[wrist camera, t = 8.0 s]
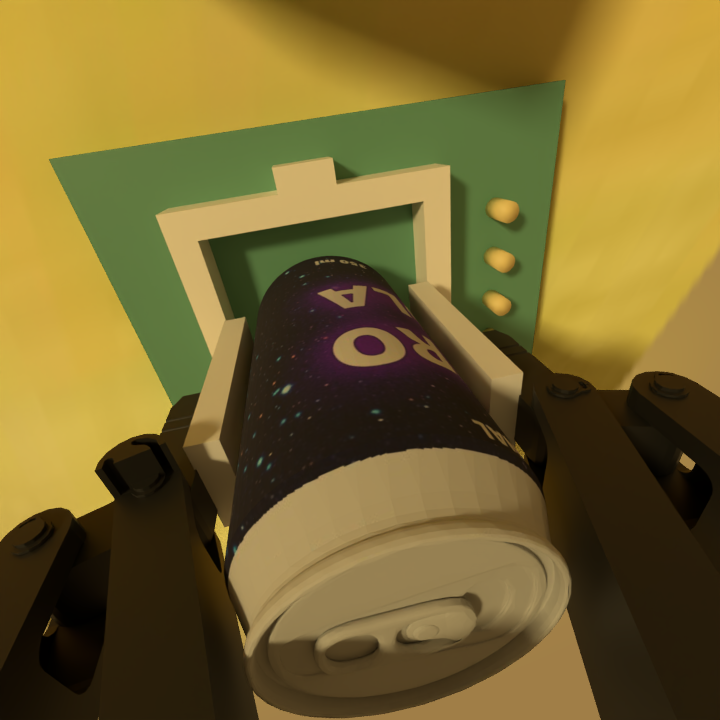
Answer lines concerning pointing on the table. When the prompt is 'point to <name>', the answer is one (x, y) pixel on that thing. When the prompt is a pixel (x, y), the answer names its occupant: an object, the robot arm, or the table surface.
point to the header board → (325, 215)
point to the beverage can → (376, 510)
